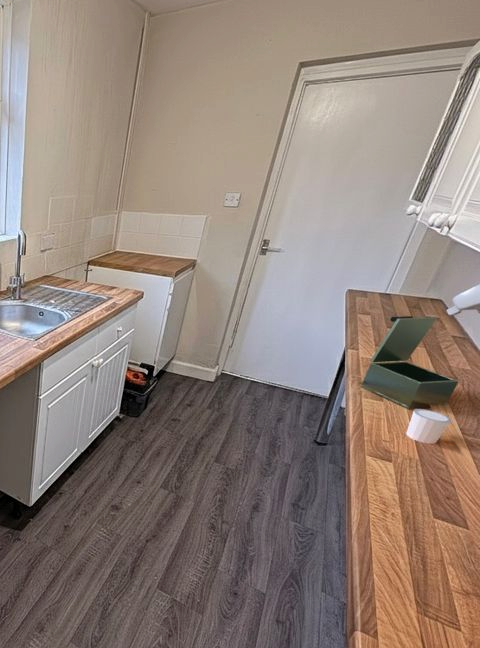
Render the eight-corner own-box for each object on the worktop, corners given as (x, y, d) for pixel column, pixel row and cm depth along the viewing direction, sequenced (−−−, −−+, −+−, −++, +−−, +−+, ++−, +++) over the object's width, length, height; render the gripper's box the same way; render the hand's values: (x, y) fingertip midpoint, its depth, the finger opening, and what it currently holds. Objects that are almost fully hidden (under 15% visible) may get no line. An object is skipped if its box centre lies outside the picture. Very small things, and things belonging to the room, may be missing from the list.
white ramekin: (443, 440, 108) (455, 417, 106) (434, 448, 105) (446, 425, 103) (408, 427, 114) (418, 406, 111) (398, 435, 111) (409, 412, 108)
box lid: (436, 318, 125) (420, 311, 129) (399, 319, 124) (384, 312, 128) (407, 360, 134) (393, 353, 138) (372, 362, 132) (359, 354, 136)
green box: (445, 407, 124) (458, 381, 121) (407, 409, 123) (420, 383, 120) (394, 385, 138) (405, 361, 134) (360, 387, 136) (370, 362, 133)
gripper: (559, 272, 103) (491, 300, 116) (488, 275, 101) (426, 303, 114) (575, 294, 101) (503, 320, 113) (503, 297, 99) (438, 323, 111)
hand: (464, 311), depth 114 cm, fingers open, 8 cm apart
